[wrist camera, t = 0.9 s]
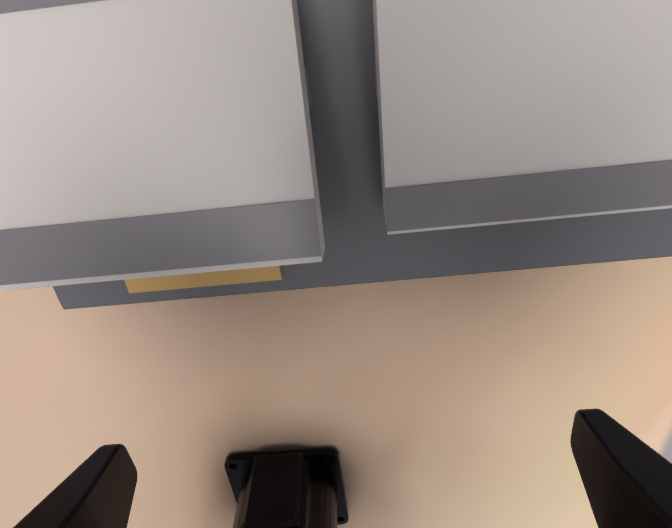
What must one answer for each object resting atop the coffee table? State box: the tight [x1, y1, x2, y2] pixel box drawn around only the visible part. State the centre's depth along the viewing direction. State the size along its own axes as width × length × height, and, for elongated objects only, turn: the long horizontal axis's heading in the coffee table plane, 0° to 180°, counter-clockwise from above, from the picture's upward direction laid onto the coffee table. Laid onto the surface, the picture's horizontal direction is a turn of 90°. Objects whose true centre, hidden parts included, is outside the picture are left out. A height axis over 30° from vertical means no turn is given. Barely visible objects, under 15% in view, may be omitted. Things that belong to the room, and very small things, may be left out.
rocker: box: [0, 0, 325, 291], centre depth 13 cm, size 9×10×2 cm
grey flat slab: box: [372, 0, 672, 235], centre depth 13 cm, size 9×10×2 cm
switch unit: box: [53, 0, 672, 309], centre depth 16 cm, size 15×24×4 cm, turn 96°
